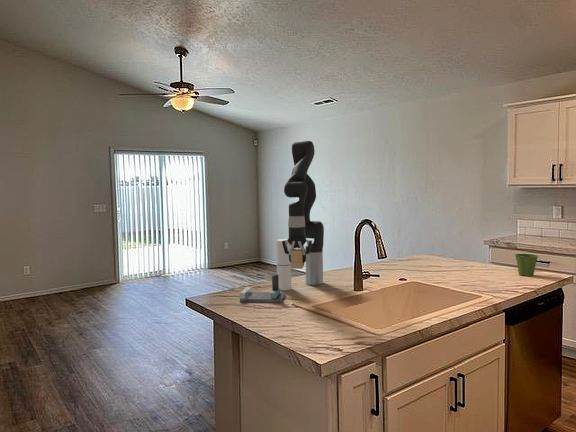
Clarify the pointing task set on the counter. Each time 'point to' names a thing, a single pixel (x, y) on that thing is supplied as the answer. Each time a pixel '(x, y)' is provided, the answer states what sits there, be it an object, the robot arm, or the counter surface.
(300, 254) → the block
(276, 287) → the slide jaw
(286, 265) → the cylindrical container
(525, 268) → the plant pot
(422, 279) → the counter surface
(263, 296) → the vise
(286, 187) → the robot arm
